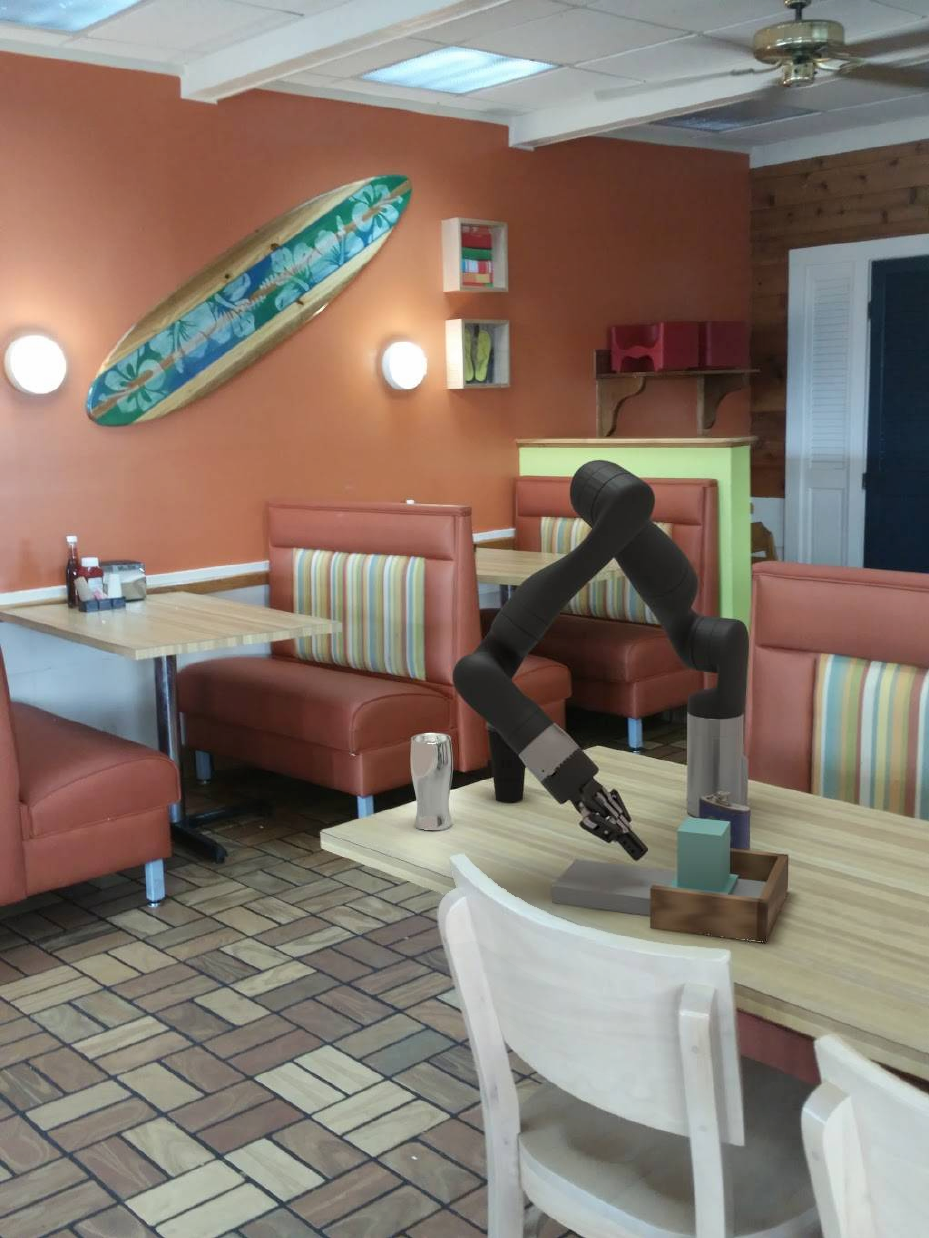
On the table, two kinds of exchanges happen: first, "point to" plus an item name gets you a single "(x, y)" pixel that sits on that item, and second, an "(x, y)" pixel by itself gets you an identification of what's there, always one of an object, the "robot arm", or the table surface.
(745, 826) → the flask
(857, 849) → the table surface
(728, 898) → the box
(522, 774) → the drinking cup
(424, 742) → the beer glass
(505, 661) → the robot arm
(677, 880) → the teal block
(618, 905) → the board
